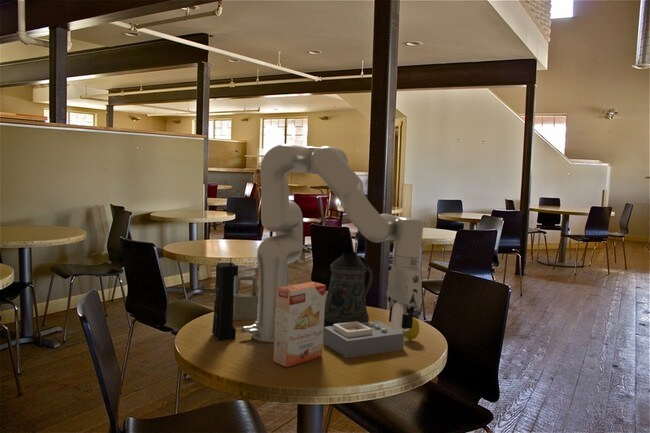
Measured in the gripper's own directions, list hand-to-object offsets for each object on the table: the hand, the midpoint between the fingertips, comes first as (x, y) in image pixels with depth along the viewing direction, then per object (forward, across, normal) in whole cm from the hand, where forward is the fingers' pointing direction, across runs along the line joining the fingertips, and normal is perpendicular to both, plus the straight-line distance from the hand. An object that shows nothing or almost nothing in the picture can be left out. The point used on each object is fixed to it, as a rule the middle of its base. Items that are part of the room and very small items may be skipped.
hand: (400, 324), depth 148 cm
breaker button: (+8, +13, +7) cm, 17 cm away
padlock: (+13, +53, +26) cm, 60 cm away
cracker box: (+11, +10, +26) cm, 30 cm away
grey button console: (+11, +13, +3) cm, 17 cm away
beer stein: (+11, +35, -4) cm, 37 cm away
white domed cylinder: (+1, 0, 0) cm, 1 cm away
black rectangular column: (+12, +37, +39) cm, 55 cm away
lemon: (+10, +12, -14) cm, 21 cm away
